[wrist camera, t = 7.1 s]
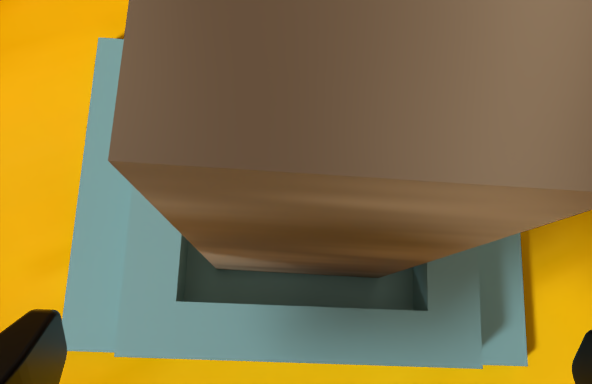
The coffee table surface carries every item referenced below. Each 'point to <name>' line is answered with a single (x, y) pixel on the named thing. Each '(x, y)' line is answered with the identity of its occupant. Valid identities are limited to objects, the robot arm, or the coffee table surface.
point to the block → (355, 126)
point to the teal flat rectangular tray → (267, 287)
